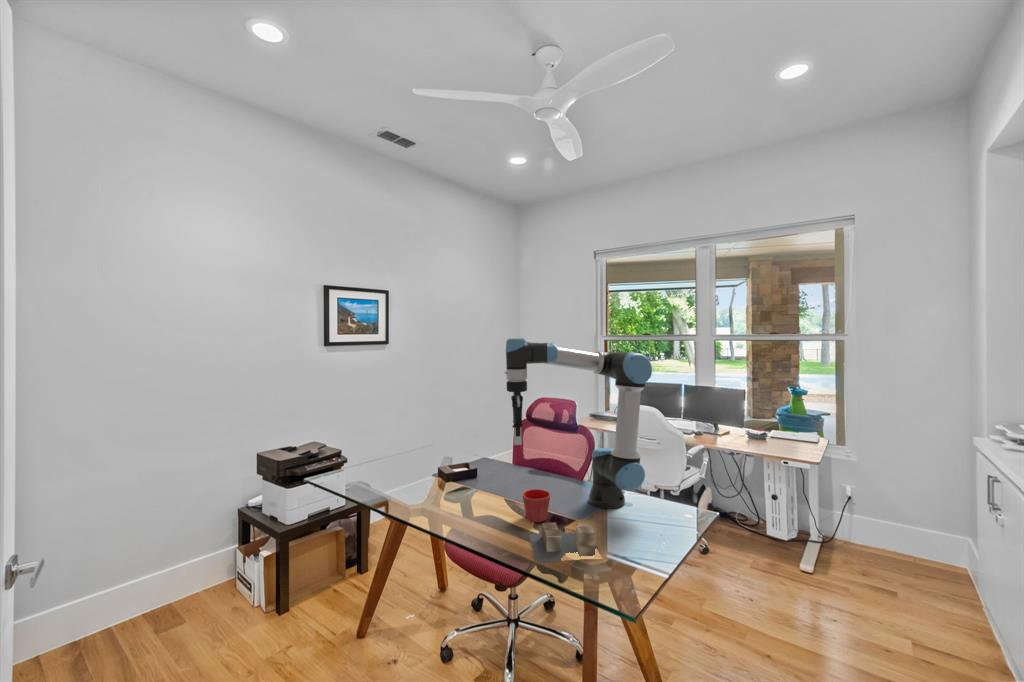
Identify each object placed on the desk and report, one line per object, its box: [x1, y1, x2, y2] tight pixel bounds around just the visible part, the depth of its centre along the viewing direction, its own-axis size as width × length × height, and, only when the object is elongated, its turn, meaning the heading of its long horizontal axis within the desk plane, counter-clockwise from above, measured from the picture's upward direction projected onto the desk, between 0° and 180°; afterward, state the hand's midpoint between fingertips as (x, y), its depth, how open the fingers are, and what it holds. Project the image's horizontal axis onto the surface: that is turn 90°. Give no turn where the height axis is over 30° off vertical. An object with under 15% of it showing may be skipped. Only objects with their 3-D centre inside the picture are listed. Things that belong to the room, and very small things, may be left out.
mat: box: [528, 531, 599, 564], centre depth 156 cm, size 22×20×1 cm
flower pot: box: [522, 489, 551, 523], centre depth 180 cm, size 11×11×10 cm
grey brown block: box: [541, 522, 562, 552], centre depth 157 cm, size 5×5×11 cm
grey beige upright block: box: [575, 525, 596, 557], centre depth 150 cm, size 5×5×8 cm
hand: (517, 444), depth 168 cm, fingers closed
